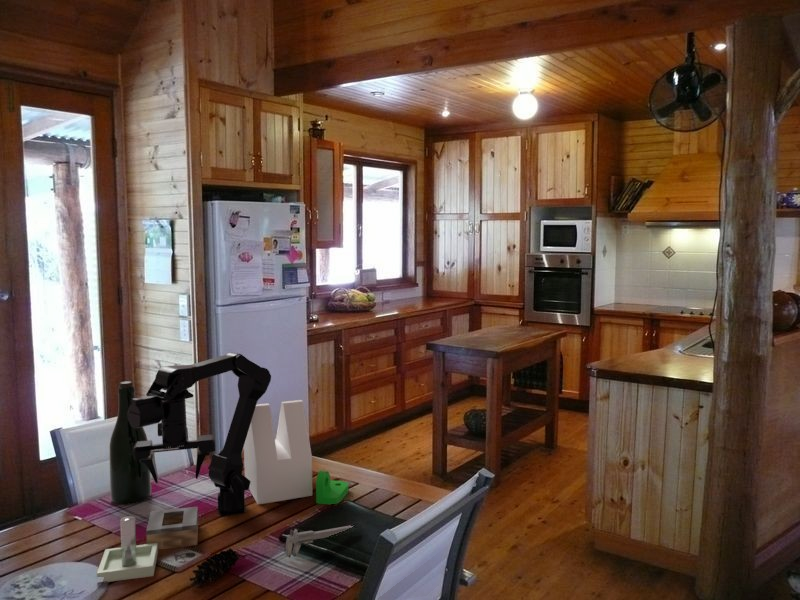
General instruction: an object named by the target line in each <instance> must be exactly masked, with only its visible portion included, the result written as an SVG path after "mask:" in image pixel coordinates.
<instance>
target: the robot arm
mask: <svg viewBox="0 0 800 600" xmlns="http://www.w3.org/2000/svg"><path fill="white" fill-rule="evenodd" d="M227 372H232V374H233V375H235V377H236V378H238V380H237V389H238V394H239V395H238V400H237V402H236V407H235V410H234V413H233V416H232V419H231V422H230V426H229V430H228V433H227V435H226V439H225V442H224V445H223V447H222V449H221V451H220V452H219V453H218V454H216V453H214V452H216V436H215V435H214V434H202V435H198V438H197V439H196V440H189V429H188V427H187V408H186V406H187V405H186V400H187V399H191V398H194V394H193V393H191V392H190V391H188V389H190V388H192V387H193V386H194V385H195V384H196V383H197V382H200V381H202V380H206V379H208V378H212V377H215V376H218V375H221V374H225V373H227ZM271 380H272V374H271V372H270V370H269V369H268V368H266V367H263V366H260V365H258V364H257V363H255V362H253V361H252V360H250V359H248V358H247V357H245V356H244V355H243V354H241V353H238V352H237V353H236V352H228V353H226V354H224V355H220V356H216V357H214V358H210V359H206V360H203V361H200V362H196V363H192V364H183V365H181V364H178V365H176V364H175V365H165V366H162V367H160V368H159V369H158V370H157V371H156V375H155V378H154V380H153V381H152V384H151V385H150V387H149V388H148V391H147V392H146V396H143V397H135V398H134V399H132V400H131V401H132V404H131V405H130V406H129V409H128V412H127V417H128V421H129V423H130V425H131V426H132V427H133V428H134V429H137V428H140V427H143V428H144V427H147V426H152V425H155V424H157V436H158V437H162V438H161V440H162V443H156V444H154V443H153V440H151V439H150V440H148V441H139V442H137V443H136V444H135V445H134V448H133V459H135V460H137V459H139V462H144V463H145V465H146V466H147V468H148V469H149V471H150V475H151V477H152V478H153V480H154V482H155V484H158V483H159V475H158V469H157V464H156V457H155V455H156V454H155V453H162V452H171V451H174V452H175V451H181V450H183V451H184V450H192V449H197V455H196V465H195V479H196V480H198V478H199V475H200V471H201V469H202V465H203V462H204V461H205V459H206V457H207V456H210V455H211V453H214V454H212V456H211V459H210V460H211V461H210V462H209V466H208V467H207V470H208V478H209V479H210V481H211V482H212V483H213V484H214V486H215V488H219V492H218V493H217V512H219V517H225V516H234V515H243V514H246V503H245V502H246V501H245V497H246V496H245V491H247V490H250V489H249V486H250V480H248V479H247V478H246V477H245V475H243V469H244V461H243V455H242V453H243V451H244V443H245V440H246V437H247V434H248V430H249V427H250V424H251V420H252V417H253V414H254V411H255V407H256V405H257V404H258V401H259V400H260V399H261V398H262V397H263V395H265V394H266V393H267V391H268V387H269V386H270V383H271ZM161 390H163V391H161Z"/></svg>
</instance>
